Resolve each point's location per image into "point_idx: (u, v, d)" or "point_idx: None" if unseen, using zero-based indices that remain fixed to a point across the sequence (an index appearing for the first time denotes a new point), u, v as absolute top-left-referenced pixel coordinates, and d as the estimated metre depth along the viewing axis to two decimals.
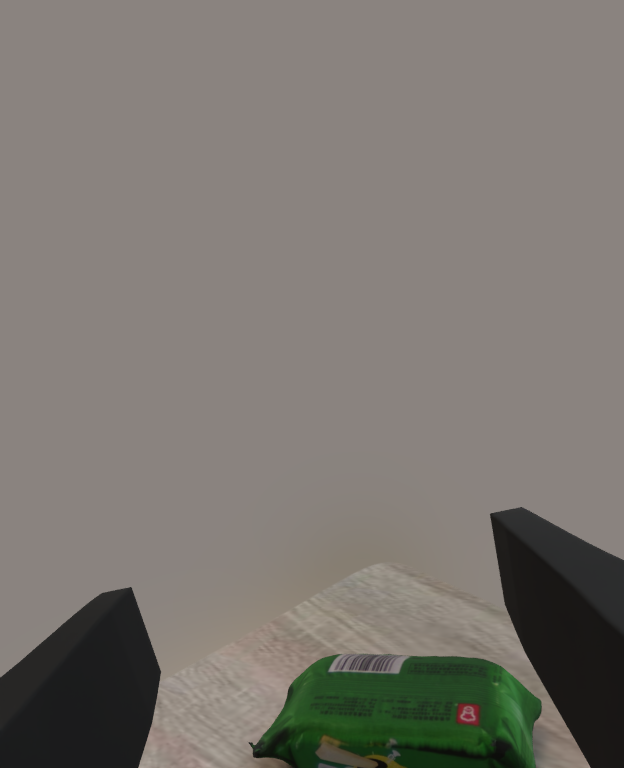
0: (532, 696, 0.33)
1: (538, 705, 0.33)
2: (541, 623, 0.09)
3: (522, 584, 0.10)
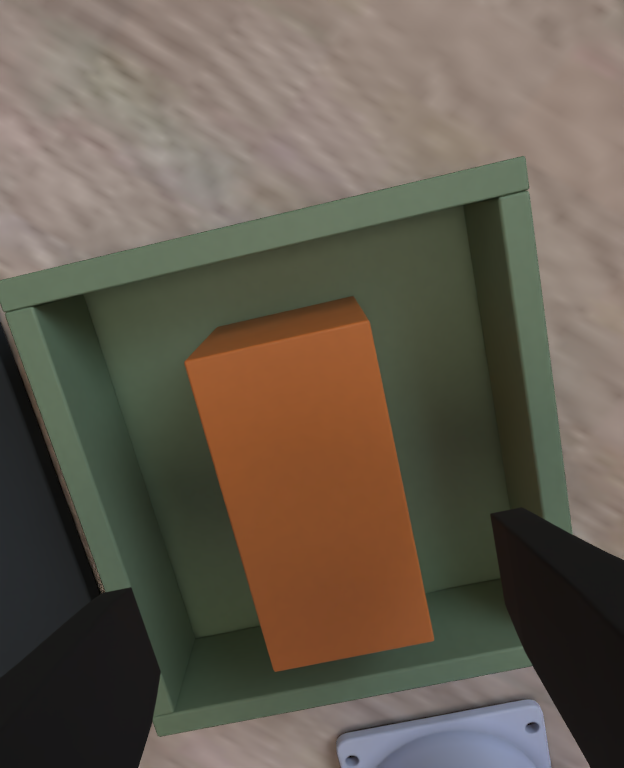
0: None
1: None
2: (541, 623, 0.09)
3: (522, 584, 0.10)
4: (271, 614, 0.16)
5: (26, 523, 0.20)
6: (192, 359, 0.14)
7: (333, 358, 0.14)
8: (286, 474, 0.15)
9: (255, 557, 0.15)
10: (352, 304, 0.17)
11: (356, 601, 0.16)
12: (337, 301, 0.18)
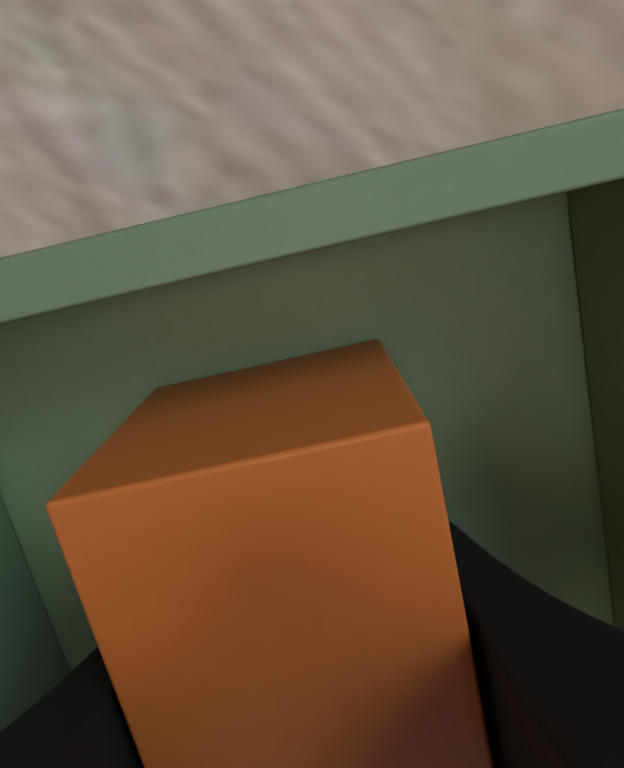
0: None
1: None
2: None
3: None
4: None
5: None
6: (62, 499, 0.07)
7: (354, 498, 0.07)
8: (258, 712, 0.07)
9: None
10: (381, 362, 0.09)
11: None
12: (352, 349, 0.11)
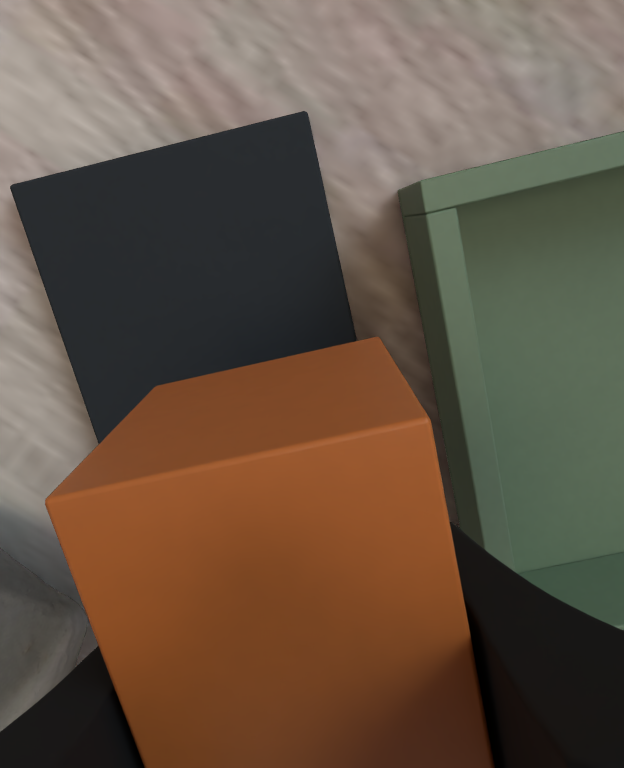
0: None
1: None
2: None
3: None
4: None
5: None
6: (61, 495, 0.07)
7: (354, 494, 0.07)
8: (259, 709, 0.07)
9: None
10: (381, 359, 0.09)
11: None
12: (352, 347, 0.11)
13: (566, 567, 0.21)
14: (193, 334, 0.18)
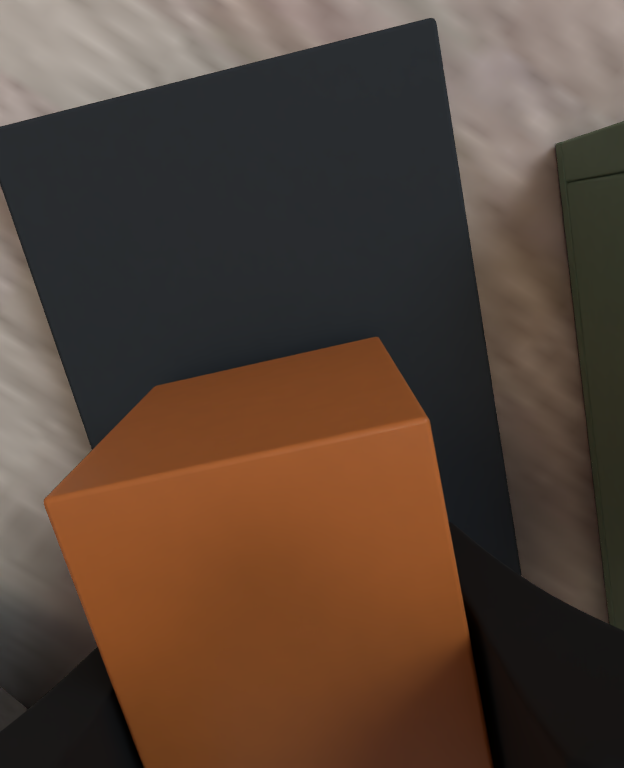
0: None
1: None
2: None
3: None
4: None
5: (462, 525, 0.14)
6: (60, 495, 0.07)
7: (352, 494, 0.07)
8: (257, 709, 0.07)
9: None
10: (380, 358, 0.09)
11: None
12: (352, 347, 0.11)
13: None
14: (252, 354, 0.13)
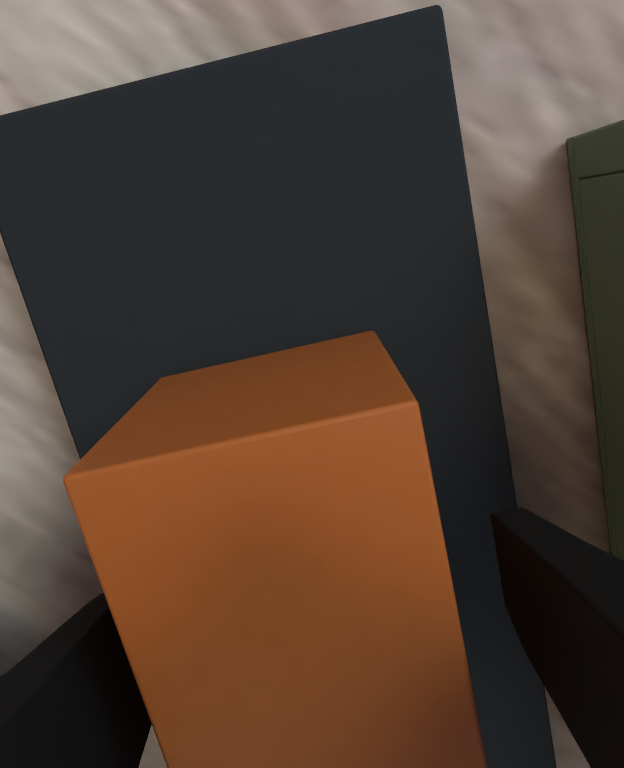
0: None
1: None
2: (541, 622, 0.09)
3: (522, 584, 0.10)
4: None
5: (468, 538, 0.13)
6: (78, 473, 0.07)
7: (347, 471, 0.07)
8: (259, 674, 0.08)
9: None
10: (375, 350, 0.10)
11: None
12: (348, 340, 0.11)
13: None
14: None
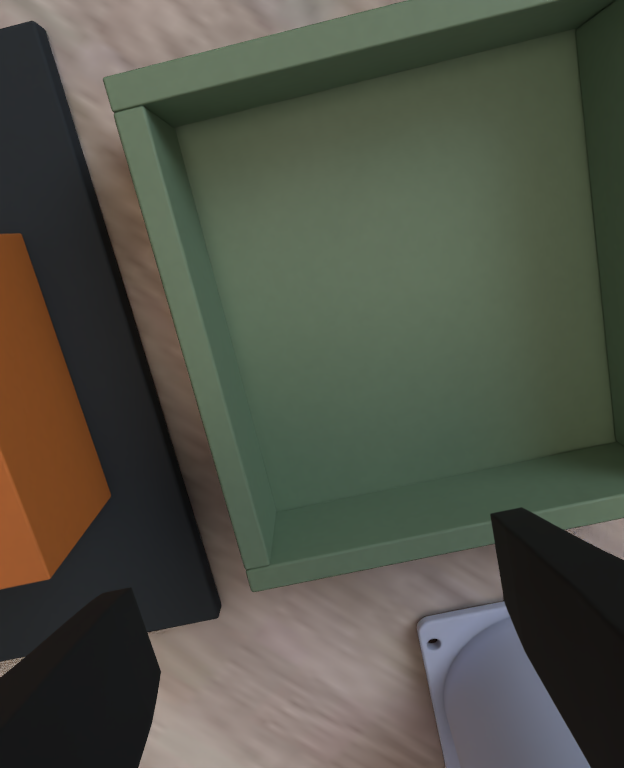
0: None
1: None
2: (541, 623, 0.09)
3: (522, 584, 0.10)
4: None
5: (108, 381, 0.19)
6: None
7: None
8: None
9: None
10: None
11: None
12: None
13: (346, 500, 0.21)
14: None
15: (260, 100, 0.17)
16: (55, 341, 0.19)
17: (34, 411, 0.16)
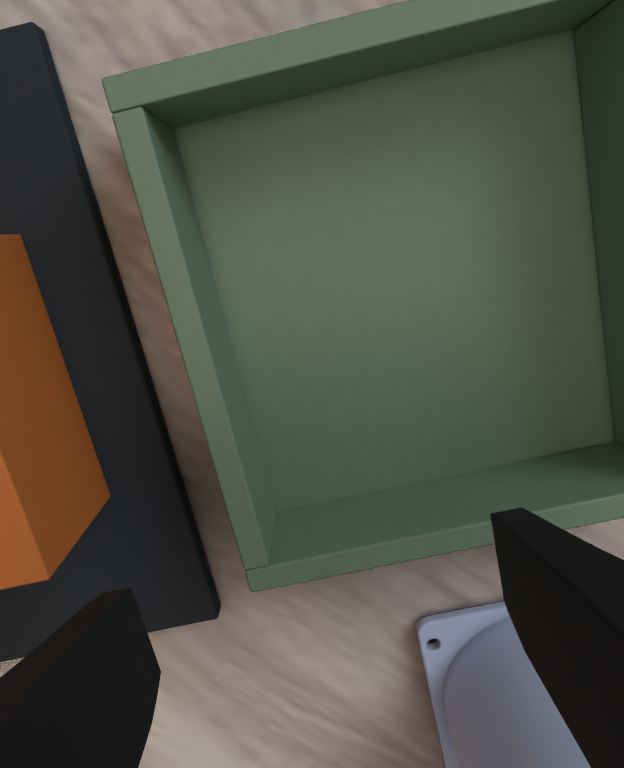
0: None
1: None
2: (541, 623, 0.09)
3: (522, 584, 0.10)
4: None
5: (107, 381, 0.19)
6: None
7: None
8: None
9: None
10: None
11: None
12: None
13: (345, 500, 0.21)
14: None
15: (259, 101, 0.17)
16: (55, 342, 0.19)
17: (33, 411, 0.16)
